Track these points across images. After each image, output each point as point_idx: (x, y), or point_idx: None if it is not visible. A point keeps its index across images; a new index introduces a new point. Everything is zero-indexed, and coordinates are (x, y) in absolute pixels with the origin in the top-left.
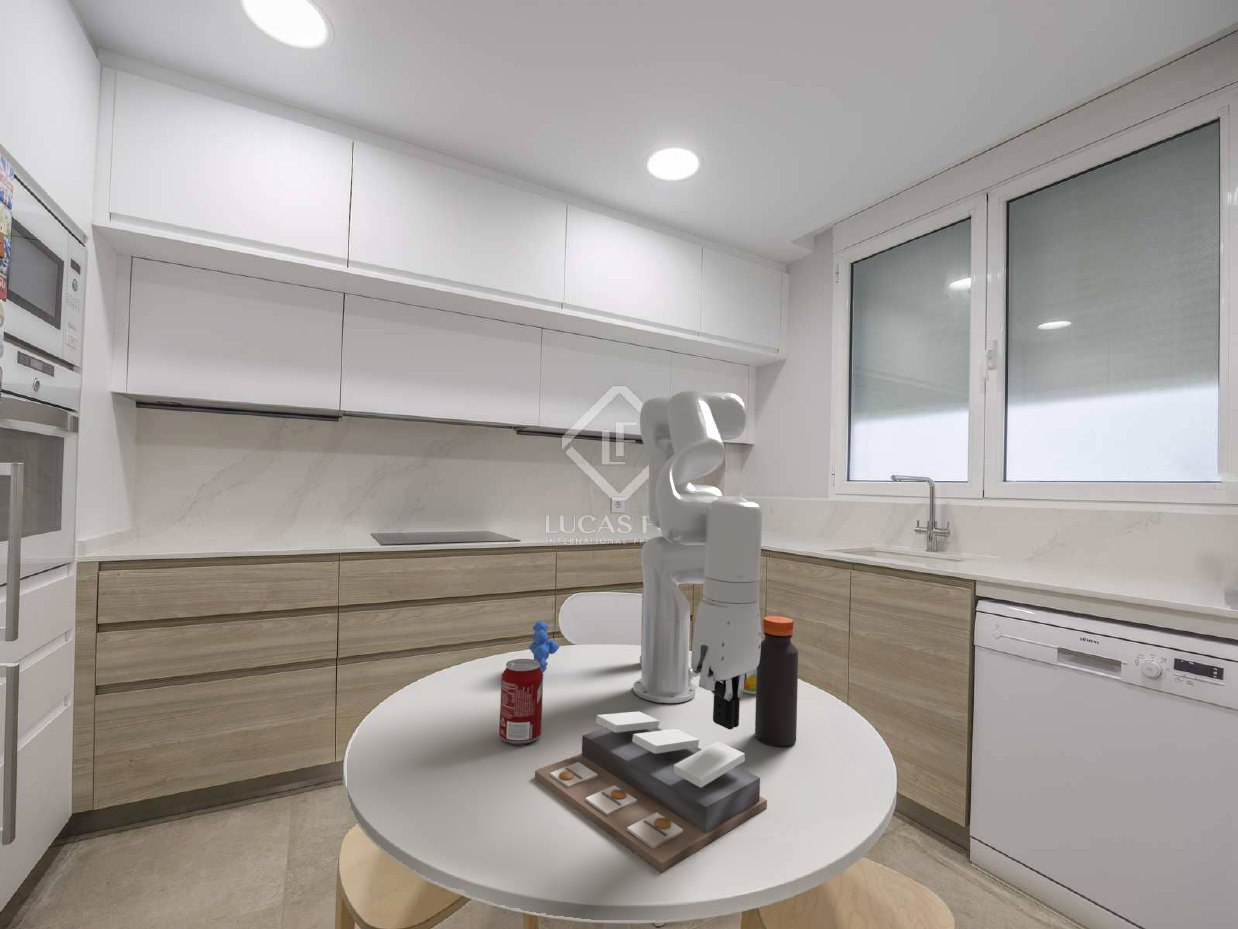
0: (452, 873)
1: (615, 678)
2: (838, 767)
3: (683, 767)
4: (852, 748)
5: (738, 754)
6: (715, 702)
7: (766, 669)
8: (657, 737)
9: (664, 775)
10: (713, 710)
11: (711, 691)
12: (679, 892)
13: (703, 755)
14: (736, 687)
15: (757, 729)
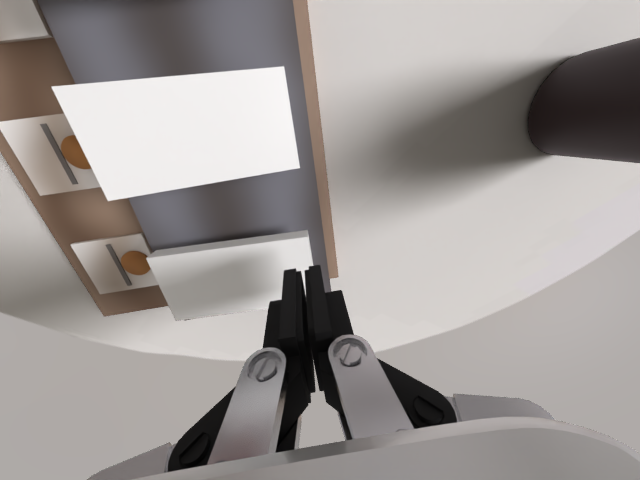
0: None
1: None
2: (525, 244)
3: (163, 276)
4: (610, 215)
5: None
6: (264, 341)
7: None
8: (153, 134)
9: (158, 212)
10: (282, 289)
11: (243, 370)
12: (121, 336)
13: (232, 265)
14: (343, 430)
15: (558, 85)
